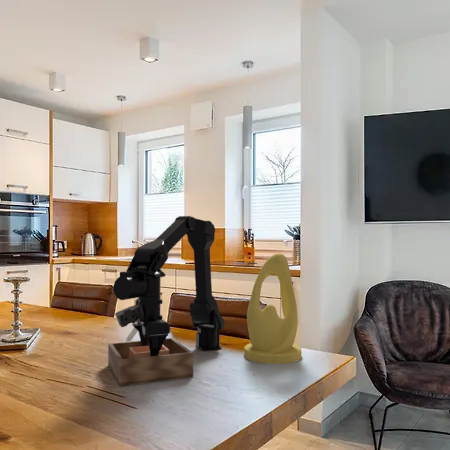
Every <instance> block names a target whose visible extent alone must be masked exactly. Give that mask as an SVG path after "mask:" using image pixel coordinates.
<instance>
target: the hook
mask: <svg viewBox="0 0 450 450" xmlns="http://www.w3.org/2000/svg"><path fill="white" fill-rule="evenodd" d="M137 333H139V332H138V330H137V329H136V328H135V327H133V328H131V331H130V332H129V333H128V334H127V336H126V337H125V339H124V340H123V342H131V341H132V340H133V339H134V337H135V336H136V334H137Z"/></svg>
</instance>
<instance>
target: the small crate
mask: <svg viewBox="0 0 450 450" xmlns="http://www.w3.org/2000/svg"><path fill="white" fill-rule="evenodd" d="M159 355H169V349H168V348H166V347H165V346H164V345H162V347H161V349H160V352H159V354H158V356H159ZM140 357H150V350H149V346H140V347H130V348H129V359H131V358H140Z"/></svg>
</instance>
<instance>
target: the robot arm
mask: <svg viewBox="0 0 450 450" xmlns="http://www.w3.org/2000/svg"><path fill="white" fill-rule="evenodd" d="M215 233H216V228H215V224H213V223H212V221H210V220H204V219H200V218H196V217H194V216H191V215H183V216H182V215H179V216H177V217H176V218H175V219H174V221H172V223H171V224H170V225H169V226H168V227H167V228H166V229H165V230H163V232H162V233H161V234H160V235H159V236H158V237H156V239H154V240H152V241H149V242H147V243H144V244H143V245H140V246H139V247H138V248H136V249H135V251H134V252H133V253H134V255H133V257H132V258H131V261H130V262H129V265H128V267H127V269H126V271H119V277H117V278H116V279H115V281H114V284H113V285H112V288H113V289H112V290H113V294H114V296H115V297H116V299H118V300H120V301H126V300H132V299H135V304H134V305H132V306H128V307H126V308H124V309H121V310H119V311H116V312H115V313H114V315H115V318H116V321H117V323H118V325H119V326H120V327H121V328H124V327H127V326H128V325H129V324H131V326H132V327H133V328H134V327H135V328H136V329H137V330H138V332H137V333H138V336H139V341H141V345H142V346H149V350H150V356H158V354H159V352H160V349H161V347H162V345H163V343H164V341H165V339H166V338H168V336H169V334H171V325H170V324H169V323H168V322H167V321H165V320H164V319H163V315H162V314H161V305H162V304H163V299H161V278H164V277H166V273H165V272H164V271H163V270H162V268H163V266H164V265H165V264H166V262H167V261H168V259H169V252H170V251H171V250H172V249H173V248H174V247H175V246H176V245H178V243H179V242H180V241H181V240H182V239H183V238H184V237H185V236H187V242H188V243H189V245H190V246H191V248H192V250H193V263H194V265H193V266H194V281H195V297H194V299H193V301H192V302H190V303H189V310H190V314H189V316H190V317H191V322H192V326H193V328H194V329H195V328H196V329H197V332H196V333H195V347H197V348H198V349H200V350H201V351H212V350H218V349H222V346H221V345H220V331H221V330H223V329H224V326H225V320H224V318H223V317H222V315H221V313H220V311H219V305H218V302H217V300H216V299H215V297H214V296H213V290H212V270H211V269H212V267H211V265H212V264H211V247H212V245H213V243H214V241H215Z"/></svg>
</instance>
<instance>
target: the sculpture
mask: <svg viewBox="0 0 450 450" xmlns="http://www.w3.org/2000/svg"><path fill="white" fill-rule="evenodd" d="M291 274H292V273H291V270H290V266H289V263H288V259H287V257H286V256H285V255H284V254H283V253H275V254H272V255H271V256H269V257H268V259H267V260H266V261H265V262H264V264H263V265H262V267H261V269H260V271H259V272H258V275H257V276H256V279H255V281H254V284H253V287H252V290H251V294H250V299H249V303H248V305H247V311H246V323H247V325H246V326H247V331H248V337H249V341H250V343H248V344H246V345H244V347H243V348H244V349H243V350H244V351H243V357H244V358H246V359H247V360H249V361H251V362H255V363H260V364H269V365H270V364H271V365H275V364H276V365H281V364H283V363H284V364H290V363H291V364H292V363H295V362H297V360H298V361H300V360H301V359H302V347H300V345H298V344H296V343H295V340H296V337H297V336H296V335H297V331H298V327H299V326H298V323H299V322H298V321H299V319H298V318H299V317H298V307H297V299H296V296H295V295H296V294H295V291H294V287H293V281H292V279H293V278H292V275H291ZM270 275H271V276H272V275H274V276H276V277H277V279H278V280H279V287H280V289H279V290H280V300H281V301H280V302H281V309H282V314H283V318H282V317H280V316H279V314H278V311H277V307H275V306H274V305H273V304H266V306H265V307H263V309H262V308H261V304H260V303H261V293H262V292H261V291H262V287H263V283H264V281H265V279H266V278H268V277H269V276H270ZM299 359H300V360H299Z"/></svg>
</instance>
